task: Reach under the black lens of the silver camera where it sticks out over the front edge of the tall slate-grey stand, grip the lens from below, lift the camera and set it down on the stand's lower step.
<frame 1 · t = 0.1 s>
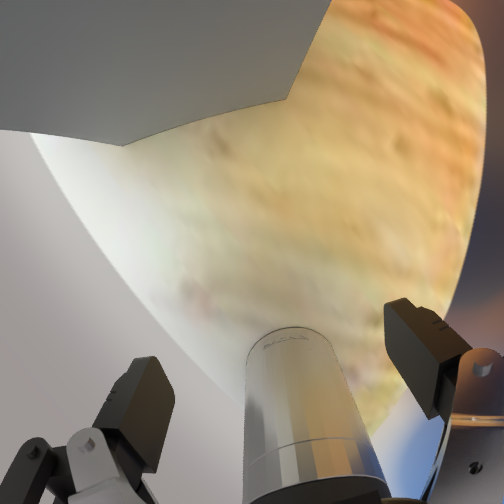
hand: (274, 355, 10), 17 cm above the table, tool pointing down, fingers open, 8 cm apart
stepped stand: (179, 32, 21), on the table
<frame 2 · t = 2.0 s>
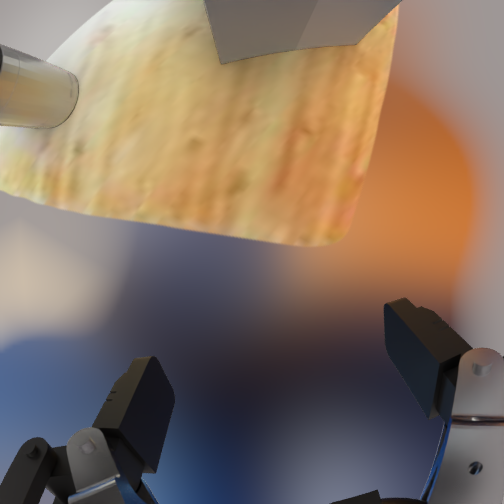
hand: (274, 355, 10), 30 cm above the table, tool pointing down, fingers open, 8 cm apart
stepped stand: (276, 8, 30), on the table
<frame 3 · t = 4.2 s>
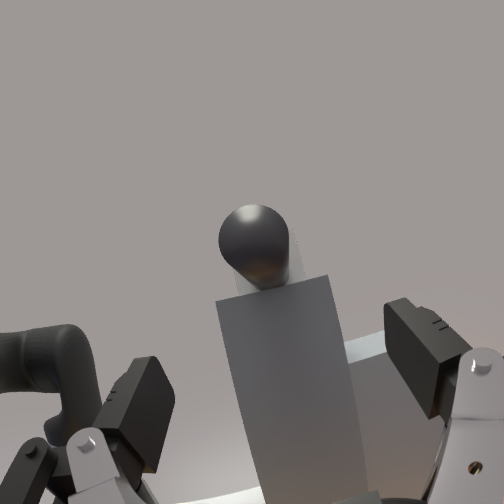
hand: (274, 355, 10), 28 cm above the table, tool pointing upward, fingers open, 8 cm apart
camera: (275, 295, 34), point 32 cm above the table, touching stepped stand
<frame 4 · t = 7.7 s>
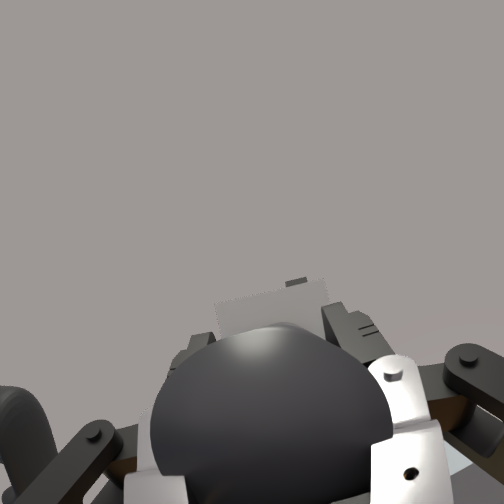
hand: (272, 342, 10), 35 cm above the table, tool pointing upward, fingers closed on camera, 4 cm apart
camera: (289, 372, 21), point 32 cm above the table, touching gripper, stepped stand
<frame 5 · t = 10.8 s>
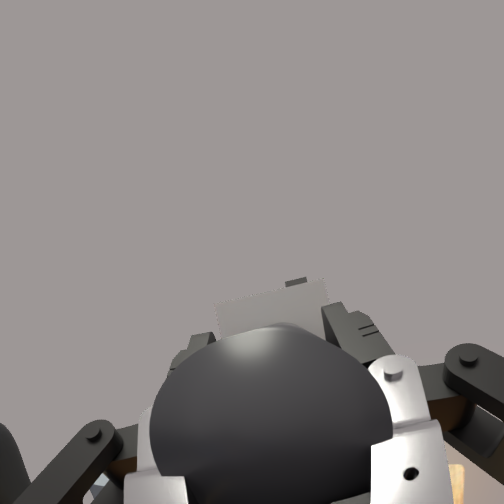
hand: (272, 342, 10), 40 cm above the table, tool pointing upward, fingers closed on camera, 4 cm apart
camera: (289, 372, 21), point 37 cm above the table, touching gripper
when the fingers open (29 cm above the table, at t = 14.3 s): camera drops 1 cm, resting on stepped stand.
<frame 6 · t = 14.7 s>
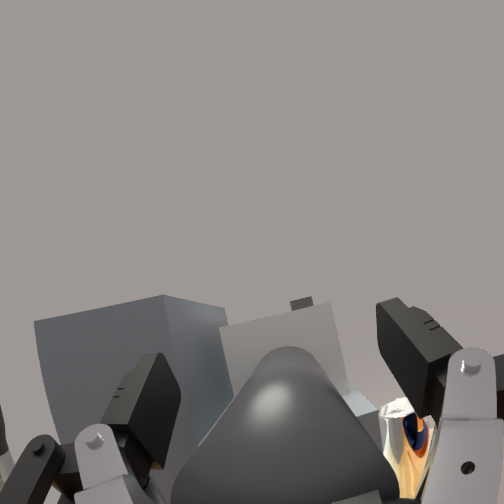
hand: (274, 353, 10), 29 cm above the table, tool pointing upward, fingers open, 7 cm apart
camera: (293, 390, 21), point 24 cm above the table, touching stepped stand
beer glass: (407, 493, 26), on the table
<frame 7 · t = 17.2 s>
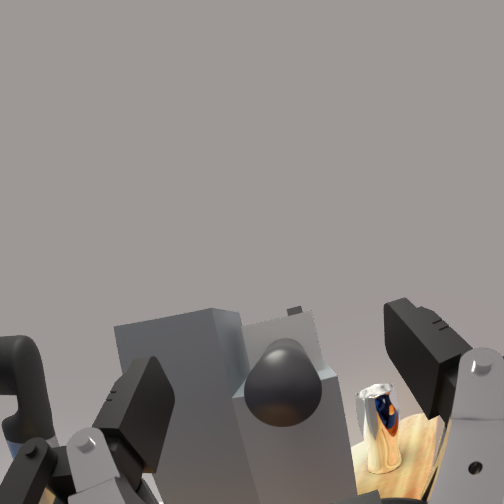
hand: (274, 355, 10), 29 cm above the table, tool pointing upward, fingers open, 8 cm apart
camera: (289, 370, 31), point 24 cm above the table, touching stepped stand
beer glass: (384, 465, 37), on the table
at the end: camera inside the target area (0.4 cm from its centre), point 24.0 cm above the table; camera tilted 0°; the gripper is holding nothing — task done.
